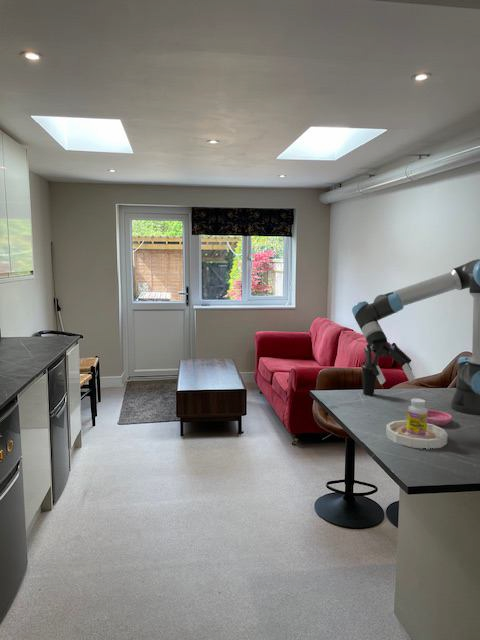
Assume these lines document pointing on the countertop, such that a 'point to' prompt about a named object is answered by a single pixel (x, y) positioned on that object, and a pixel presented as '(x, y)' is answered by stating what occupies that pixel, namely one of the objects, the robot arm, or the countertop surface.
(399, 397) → the countertop surface
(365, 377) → the drinking cup
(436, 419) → the saucer
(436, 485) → the countertop surface
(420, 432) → the supplement bottle
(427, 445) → the ceramic tray
